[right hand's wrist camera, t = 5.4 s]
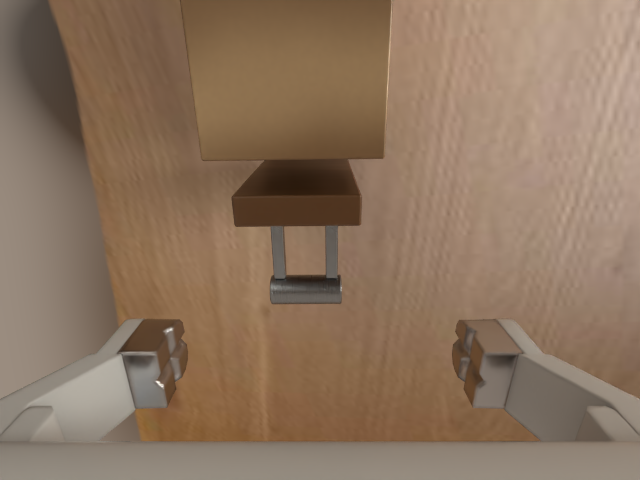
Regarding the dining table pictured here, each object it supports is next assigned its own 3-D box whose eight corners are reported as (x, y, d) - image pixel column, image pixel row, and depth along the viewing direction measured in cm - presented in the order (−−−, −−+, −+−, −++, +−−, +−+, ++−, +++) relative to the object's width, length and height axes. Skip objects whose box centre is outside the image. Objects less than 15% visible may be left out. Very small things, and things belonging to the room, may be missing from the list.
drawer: (345, 262, 24) (357, 354, 16) (274, 262, 24) (247, 354, 16) (352, -248, 15) (388, -693, 7) (240, -245, 15) (134, -682, 7)
